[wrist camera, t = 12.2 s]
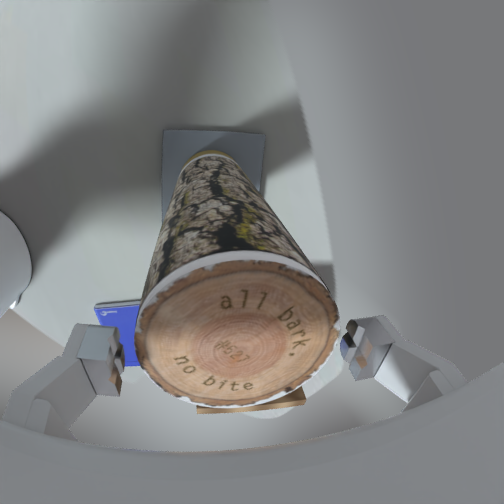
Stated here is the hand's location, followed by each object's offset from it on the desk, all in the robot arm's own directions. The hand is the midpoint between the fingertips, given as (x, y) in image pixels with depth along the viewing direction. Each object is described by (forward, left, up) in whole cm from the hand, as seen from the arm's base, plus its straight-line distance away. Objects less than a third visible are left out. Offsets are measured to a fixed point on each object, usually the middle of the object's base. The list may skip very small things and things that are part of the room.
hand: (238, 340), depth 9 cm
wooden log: (0, 0, -25) cm, 25 cm away
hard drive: (-11, -24, -26) cm, 37 cm away
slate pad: (0, 0, -25) cm, 25 cm away
